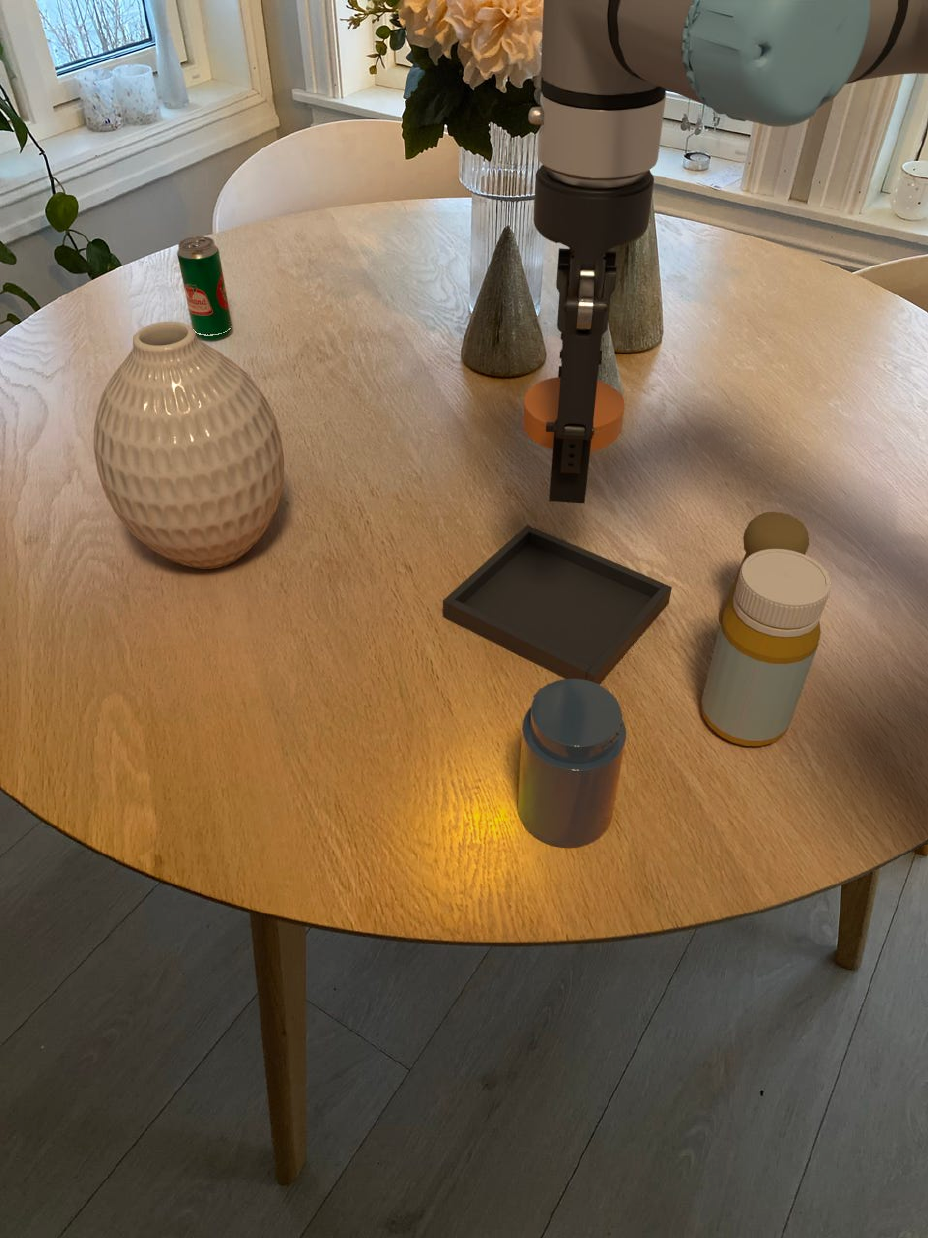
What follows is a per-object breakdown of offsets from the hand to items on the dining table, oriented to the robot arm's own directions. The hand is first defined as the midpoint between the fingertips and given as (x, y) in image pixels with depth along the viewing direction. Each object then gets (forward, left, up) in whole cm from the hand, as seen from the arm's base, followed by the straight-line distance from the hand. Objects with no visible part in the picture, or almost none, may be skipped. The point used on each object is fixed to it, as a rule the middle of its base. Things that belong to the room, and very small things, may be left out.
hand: (568, 468), depth 76 cm
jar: (-12, +18, -15) cm, 26 cm away
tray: (0, 0, -15) cm, 15 cm away
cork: (-15, -9, -16) cm, 23 cm away
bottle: (-19, +2, -16) cm, 25 cm away
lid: (0, 0, +6) cm, 6 cm away
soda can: (+65, -19, -16) cm, 69 cm away
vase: (+32, +12, -15) cm, 37 cm away
